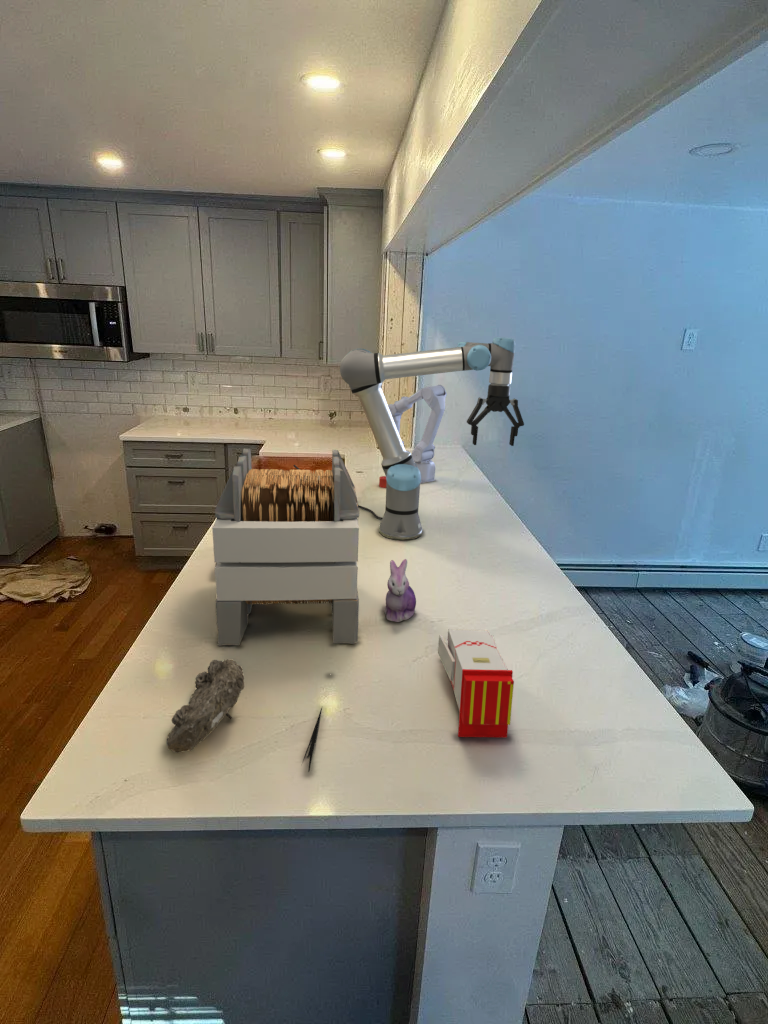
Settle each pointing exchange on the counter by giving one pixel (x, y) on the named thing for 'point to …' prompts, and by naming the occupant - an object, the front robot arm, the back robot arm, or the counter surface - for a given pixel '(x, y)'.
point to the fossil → (206, 705)
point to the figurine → (399, 594)
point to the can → (382, 481)
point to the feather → (313, 740)
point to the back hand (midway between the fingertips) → (392, 457)
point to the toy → (478, 682)
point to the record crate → (286, 545)
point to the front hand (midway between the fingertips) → (492, 444)
